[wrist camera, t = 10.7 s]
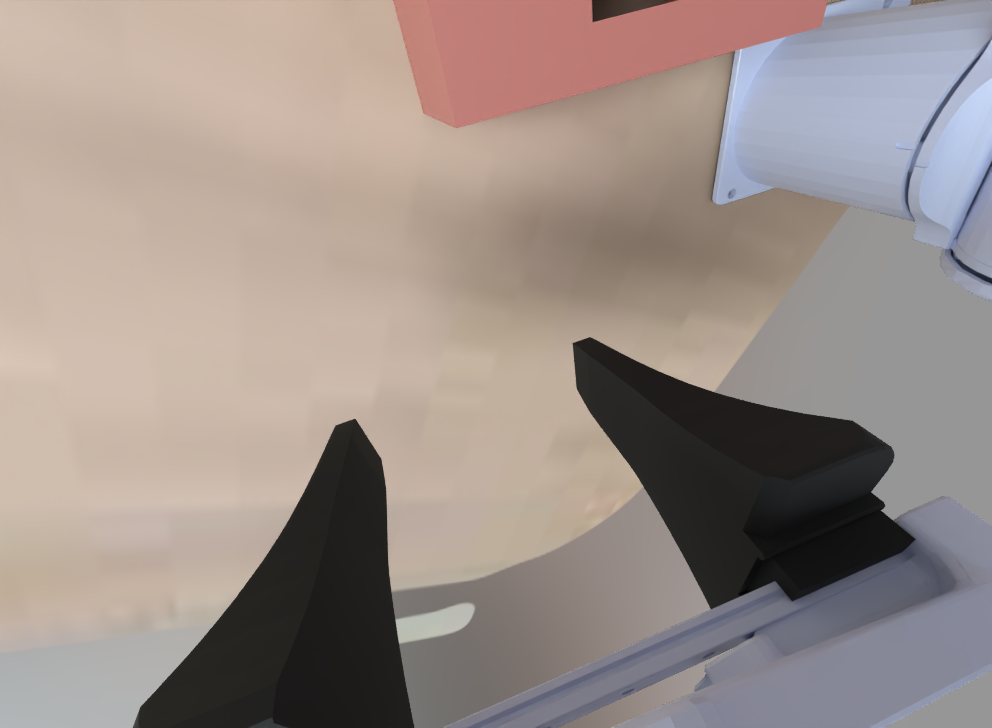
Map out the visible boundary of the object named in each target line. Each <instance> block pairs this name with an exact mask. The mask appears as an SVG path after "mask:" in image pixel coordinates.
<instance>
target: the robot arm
mask: <svg viewBox="0 0 992 728" xmlns="http://www.w3.org/2000/svg"><path fill="white" fill-rule="evenodd" d="M911 1H912V0H843V1H839V2H835V3H832V4H828V5H827V6H826V10H825V14H824V17H823V21H822V25H821V27H819V28H816V29H812V30H809V31H805V32H801V33H798V34H794V35H790V36H787V37H783V38H780V39H776V40H772V41H769V42H765V43H762V44H758V45H754V46H751V47H747V48H744V49H740V50H736V51H735V55H734V62H733V68H732V74H731V81H730V87H729V94H728V100H727V107H726V113H725V119H724V126H723V132H722V139H721V145H720V151H719V158H718V164H717V171H716V177H715V184H714V190H713V196H712V201H713V203H715V204H718V205H723V204H726V203H730V202H733V201H736V200H739V199H742V198H745V197H748V196H751V195H754V194H758V193H761V192H764V191H767V190H770V189H773V188H780V189H784V190H788V191H792V192H796V193H800V194H804V195H809V196H813V197H817V198H821V199H825V200H829V201H833V202H837V203H841V204H845V205H849V206H853V207H857V208H861V209H865V210H869V211H873V212H877V213H882V214H885V215H889V216H894V217H898V218H902V219H906V220H910V221H914V222H916V229H915V233H914V236H913V240H915V241H918V242H922V243H926V244H929V245H933V246H936V247H940V248H943V249H942V251H941V254H940V266H941V268H942V270H943V271H944V273H945V274H946V275H947V276H948V277H949V278H950V279H951V280H952V281H953V282H955V283H956V284H957V285H959V286H960V287H962V288H964V289H965V290H967V291H969V292H971V293H973V294H975V295H977V296H979V297H981V298H983V299H985V300H988V301H990V302H992V0H944V1H937V2H930V3H923V4H916V5H910V3H911ZM730 191H731V192H730ZM729 192H730V194H729ZM728 194H729V195H728ZM573 351H574V362H575V374H576V385H577V390H578V392H579V394H580V395H581V397H582V399H583V401H584V403H585V404H586V406H587V408H588V410H589V411H590V413H591V414H592V416H593V417H594V418H595V420H596V421H597V423H598V424H599V425H600V427H601V428H602V429H603V431H604V432H605V433H606V435H607V436H608V437H609V438H610V440H611V441H612V442H613V444H614V445H615V446H616V448H617V449H618V450H619V452H620V453H621V454H622V456H623V457H624V458H625V460H626V461H627V462H628V464H629V465H630V466H631V468H632V469H633V471H634V472H635V474H636V475H637V477H638V478H639V480H640V481H641V483H642V485H643V486H644V488H645V490H646V491H647V493H648V495H649V496H650V498H651V500H652V501H653V503H654V505H655V506H656V508H657V510H658V511H659V513H660V515H661V517H662V518H663V520H664V522H665V524H666V525H667V527H668V529H669V531H670V532H671V534H672V536H673V538H674V540H675V542H676V543H677V545H678V547H679V549H680V551H681V552H682V554H683V556H684V558H685V560H686V562H687V563H688V565H689V567H690V569H691V571H692V573H693V575H694V577H695V579H696V581H697V583H698V585H699V586H700V588H701V590H702V592H703V594H704V596H705V598H706V600H707V602H708V604H709V606H710V608H711V610H709V611H706V612H704V613H702V614H700V615H697V616H695V617H693V618H690V619H688V620H686V621H684V622H681V623H679V624H677V625H675V626H672V627H670V628H668V629H665V630H663V631H661V632H659V633H656V634H654V635H652V636H650V637H647V638H645V639H643V640H641V641H638V642H636V643H634V644H631V645H629V646H627V647H624V648H622V649H620V650H618V651H616V652H613V653H611V654H609V655H606V656H604V657H602V658H599V659H597V660H595V661H593V662H590V663H588V664H586V665H584V666H582V667H579V668H577V669H574V670H572V671H570V672H568V673H565V674H563V675H561V676H559V677H556V678H554V679H552V680H549V681H547V682H545V683H543V684H540V685H538V686H536V687H533V688H531V689H529V690H527V691H524V692H522V693H520V694H518V695H516V696H513V697H511V698H509V699H506V700H504V701H502V702H499V703H497V704H495V705H493V706H490V707H488V708H486V709H484V710H481V711H479V712H477V713H474V714H472V715H470V716H468V717H465V718H463V719H461V720H458V721H456V722H454V723H452V724H449V725H447V726H445V727H443V728H558V727H560V726H562V725H565V724H567V723H569V722H571V721H573V720H575V719H578V718H580V717H582V716H584V715H586V714H589V713H591V712H593V711H595V710H598V709H600V708H602V707H604V706H606V705H609V704H611V703H613V702H615V701H617V700H620V699H622V698H624V697H626V696H628V695H631V694H633V693H635V692H637V691H639V690H642V689H644V688H646V687H648V686H650V685H653V684H655V683H657V682H659V681H661V680H664V679H666V678H668V677H670V676H672V675H675V674H677V673H679V672H681V671H683V670H686V669H688V668H690V667H692V666H694V665H697V664H699V663H701V662H703V661H705V660H708V659H710V658H712V657H714V656H716V655H719V654H721V653H723V652H725V651H727V650H730V649H731V650H730V651H728V652H726V653H725V654H723V655H721V656H720V657H718V658H717V659H715V660H713V661H712V662H710V663H708V664H707V665H706V666H705V672H706V675H705V677H704V678H703V679H702V680H701V681H700V682H699V683H698V684H697V685H696V686H695V692H693V693H691V694H688V695H686V696H683V697H681V698H678V699H676V700H674V701H671V702H669V703H666V704H664V705H661V706H659V707H657V708H654V709H652V710H649V711H647V712H645V713H642V714H640V715H638V716H636V717H633V718H631V719H629V720H627V721H624V722H622V723H619V724H618V725H616V726H613V727H611V728H885V727H887V726H888V725H890V724H892V723H894V722H896V721H898V720H900V719H901V718H903V717H905V716H907V715H909V714H911V713H913V712H915V711H917V710H918V709H920V708H922V707H924V706H926V705H927V704H930V703H931V702H933V701H935V700H937V699H939V698H941V697H943V696H945V695H946V694H948V693H950V692H952V691H954V690H956V689H958V688H960V687H961V686H963V685H965V684H967V683H969V682H971V681H973V680H974V679H976V678H978V677H980V676H982V675H984V674H986V673H987V672H989V671H991V670H992V526H990V525H989V524H987V523H986V522H984V521H983V520H982V519H980V518H979V517H978V516H976V515H975V514H973V513H972V512H970V511H969V510H967V509H966V508H964V507H963V506H962V505H960V504H959V503H957V502H956V501H955V500H953V499H952V498H950V497H947V496H942V497H939V498H937V499H935V500H933V501H930V502H928V503H926V504H923V505H921V506H919V507H917V508H914V509H912V510H910V511H908V512H906V513H904V514H902V515H900V516H899V517H897V518H896V519H895V520H894V521H893V520H891V519H890V518H889V517H888V516H886V514H884V513H883V512H882V511H881V510H882V509H883V508H884V507H885V504H884V502H883V501H881V500H880V499H879V498H878V497H876V496H875V495H874V494H872V493H871V491H872V490H873V488H874V487H875V486H876V485H877V483H878V482H879V481H880V480H881V478H882V477H883V476H884V474H885V473H886V472H887V471H888V469H889V467H890V466H891V464H892V463H893V459H894V451H893V449H892V448H891V446H889V445H888V444H886V443H885V442H883V441H882V440H880V439H879V438H877V437H876V436H874V435H873V434H871V433H870V432H868V431H867V430H866V429H864V428H863V427H861V426H860V425H858V424H857V423H855V422H853V421H850V420H843V419H837V418H830V417H823V416H816V415H810V414H803V413H798V412H793V411H788V410H783V409H777V408H773V407H767V406H764V405H759V404H755V403H751V402H747V401H743V400H740V399H736V398H732V397H728V396H725V395H722V394H718V393H715V392H712V391H709V390H706V389H703V388H700V387H697V386H694V385H691V384H688V383H686V382H683V381H681V380H678V379H676V378H673V377H671V376H668V375H666V374H664V373H661V372H659V371H657V370H654V369H652V368H650V367H648V366H646V365H644V364H641V363H639V362H637V361H635V360H633V359H631V358H629V357H627V356H625V355H623V354H621V353H620V352H618V351H616V350H614V349H612V348H610V347H608V346H606V345H604V344H602V343H600V342H599V341H597V340H595V339H593V338H591V337H589V338H586V339H584V340H581V341H578V342H575V343H573ZM734 647H735V648H734ZM732 648H733V649H732ZM133 728H414V724H413V719H412V714H411V709H410V703H409V698H408V693H407V688H406V683H405V677H404V671H403V665H402V659H401V654H400V648H399V642H398V635H397V628H396V622H395V615H394V608H393V601H392V593H391V585H390V577H389V566H388V540H387V502H386V485H385V478H384V472H383V466H382V461H381V458H380V456H379V455H378V453H377V452H376V450H375V449H374V447H373V445H372V444H371V442H370V441H369V439H368V438H367V436H366V435H365V433H364V431H363V430H362V428H361V427H360V425H359V424H358V422H357V421H356V419H353V420H350V421H347V422H344V423H342V424H339V425H336V426H335V428H334V430H333V432H332V434H331V436H330V439H329V441H328V443H327V445H326V447H325V450H324V452H323V454H322V456H321V458H320V460H319V463H318V465H317V467H316V469H315V471H314V473H313V475H312V477H311V479H310V481H309V483H308V485H307V487H306V489H305V491H304V493H303V495H302V497H301V499H300V501H299V502H298V504H297V506H296V508H295V510H294V512H293V513H292V515H291V517H290V519H289V521H288V522H287V524H286V526H285V527H284V529H283V531H282V532H281V534H280V536H279V537H278V539H277V540H276V542H275V543H274V545H273V546H272V548H271V549H270V551H269V553H268V554H267V556H266V557H265V559H264V560H263V561H262V563H261V564H260V566H259V567H258V568H257V570H256V571H255V572H254V574H253V575H252V577H251V578H250V579H249V581H248V582H247V583H246V585H245V586H244V587H243V589H242V590H241V592H240V593H239V594H238V596H237V597H236V598H235V600H234V601H233V602H232V603H231V605H230V606H229V607H228V608H227V610H226V611H225V612H224V613H223V615H222V616H221V617H220V618H219V620H218V621H217V622H216V623H215V624H214V626H213V627H212V628H211V629H210V630H209V632H208V633H207V634H206V635H205V636H204V638H203V639H202V640H201V641H200V642H199V643H198V645H197V646H196V647H195V648H194V649H193V650H192V651H191V653H190V654H189V655H188V656H187V657H186V658H185V659H184V661H183V662H182V663H181V664H180V665H179V666H178V667H177V668H176V669H175V670H174V671H173V673H172V674H171V675H170V676H169V677H168V678H167V679H166V680H165V681H164V682H163V683H162V685H161V686H160V687H159V688H158V689H157V690H156V691H155V692H154V693H153V694H152V695H151V697H150V698H149V699H148V700H147V701H146V702H145V703H144V704H143V705H142V706H141V707H140V710H139V713H138V715H137V718H136V720H135V723H134V726H133Z"/></svg>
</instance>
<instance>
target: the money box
mask: <svg viewBox="0 0 992 728" xmlns="http://www.w3.org/2000/svg"><path fill="white" fill-rule="evenodd" d="M393 1H394V5H395V8H396V12H397V16H398V20H399V23H400V27H401V31H402V35H403V38H404V42H405V46H406V49H407V53H408V57H409V61H410V64H411V68H412V72H413V75H414V79H415V83H416V87H417V90H418V94H419V98H420V101H421V105H422V109H423V113H424V114H426V115H428V116H430V117H433V118H435V119H437V120H439V121H442V122H444V123H446V124H448V125H450V126H453V127H455V128H459V127H462V126H466V125H469V124H473V123H477V122H480V121H484V120H488V119H491V118H495V117H498V116H502V115H506V114H509V113H513V112H516V111H520V110H524V109H527V108H531V107H534V106H538V105H542V104H545V103H549V102H552V101H556V100H560V99H563V98H567V97H570V96H574V95H578V94H581V93H585V92H588V91H592V90H596V89H599V88H603V87H607V86H610V85H614V84H617V83H621V82H625V81H628V80H632V79H635V78H639V77H643V76H646V75H650V74H653V73H657V72H661V71H664V70H668V69H671V68H675V67H679V66H682V65H686V64H689V63H693V62H697V61H700V60H704V59H708V58H711V57H715V56H718V55H722V54H726V53H729V52H733V51H736V50H740V49H744V48H747V47H751V46H754V45H758V44H762V43H765V42H769V41H772V40H776V39H780V38H783V37H787V36H790V35H794V34H798V33H801V32H805V31H809V30H812V29H816V28H819V27H821V25H822V21H823V17H824V14H825V10H826V6H827V2H828V0H668V3H666V4H662V5H658V6H654V7H650V8H646V9H642V10H638V11H635V12H631V13H627V14H623V15H619V16H615V17H611V18H607V19H604V20H600V21H596V22H593V21H592V0H393Z"/></svg>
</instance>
